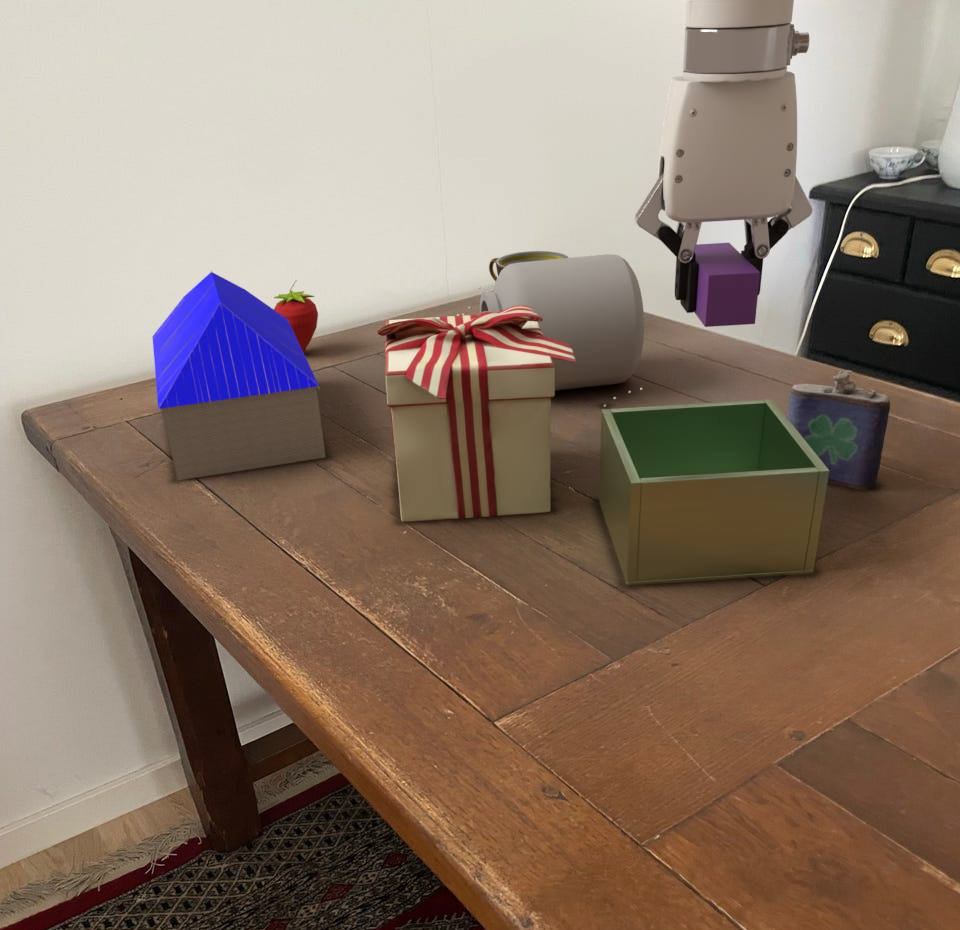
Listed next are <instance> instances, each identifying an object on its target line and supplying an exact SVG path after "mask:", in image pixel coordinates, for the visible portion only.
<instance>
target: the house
mask: <svg viewBox="0 0 960 930" xmlns="http://www.w3.org/2000/svg"><path fill="white" fill-rule="evenodd" d="M152 348H153V360H154V373H155V385H156V398H157V399H156V400H157V410H158V412H159V413H160V412H161V413H162V417H163V423H164V427H165V431H166V434H167V439H168V443H169V448H170V453H171V456H172V461H173V465H174V466H173V467H174V470H175V475H176V479H177V481H183V480H190V479H195V478H196V479H197V478H202V477H211V476H216V475H223V474H228V473H234V472H241V471H242V472H243V471H247V470H253V469H254V470H255V469H259V468H266V467H267V468H268V467H274V466H280V465H286V464H287V465H288V464H293V463H299V462H306V461H311V460H318V459H324V458H326V457H327V456H326V448H325V442H324V434H323V427H322V422H321V412H320V405H319V399H318V398H319V397H318V391H317V389H318V390H320V384H319V383H318V381H317V379H316V376H315V374H314V372H313V370H312V368H311V366H310V363H309V362H308V360H307V358H306V355H305V352H304V353H303V351H302V349H301V347H300V344H299V342H298V340H297V338H296V336H295V334H294V332H293V330H292V328H291V325H290V323H289V321H288V319H286V318H285V317H284V316H282V315H281V314H279V313H278V312H276V311H275V310H274V308H272V307H271V306H269V305H268V304H266V303H265V302H264V301H262V300H261V299H259V298H258V297H257V296H255V295H254V294H252V293H251V292H250V291H248V290H246V289H245V288H243V287H242V286H239V285H238V284H236V283H234V282H232V281H230V280H228V279H226V278H224V277H222V276H220V275H219V274H217V273H214V272H213V271H212V270H210V272H209V273H208V274H207V275H206V276H204V278H203V279H202V280H201V281H199V282H198V283H197V284H196V285H195V286H194V287H193V288H192V289H190V291H188V292H187V293H186V294H185V295H184V296H183V297H182V298H181V300H180V301H179V302H178V303H177V305H176V306H175V307H174V308H173V309H172V311H171V312H170V313H169V315H168V316H167V317H166V319H164V321H163V323H162V324H160V326H159V327H158V328H157V330H156V331H155V332H154V334H153V335H152Z"/></svg>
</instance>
